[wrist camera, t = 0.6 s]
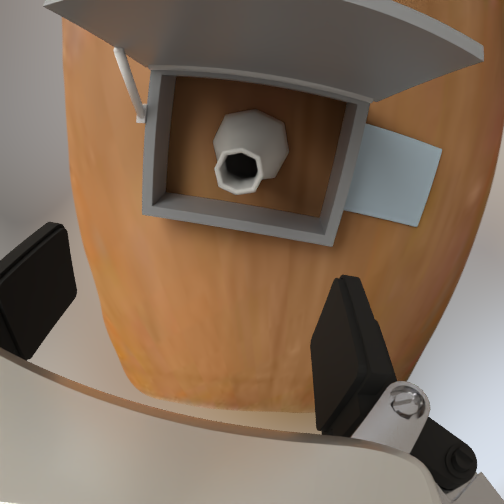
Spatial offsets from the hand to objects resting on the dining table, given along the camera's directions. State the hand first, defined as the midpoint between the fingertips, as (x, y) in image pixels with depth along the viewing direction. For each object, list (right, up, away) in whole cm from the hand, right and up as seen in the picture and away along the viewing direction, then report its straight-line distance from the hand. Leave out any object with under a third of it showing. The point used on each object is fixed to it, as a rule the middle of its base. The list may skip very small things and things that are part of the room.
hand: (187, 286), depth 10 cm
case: (+2, +11, +18) cm, 21 cm away
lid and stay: (+3, +15, +12) cm, 19 cm away
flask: (+2, +11, +18) cm, 21 cm away
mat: (+16, +9, +18) cm, 26 cm away
